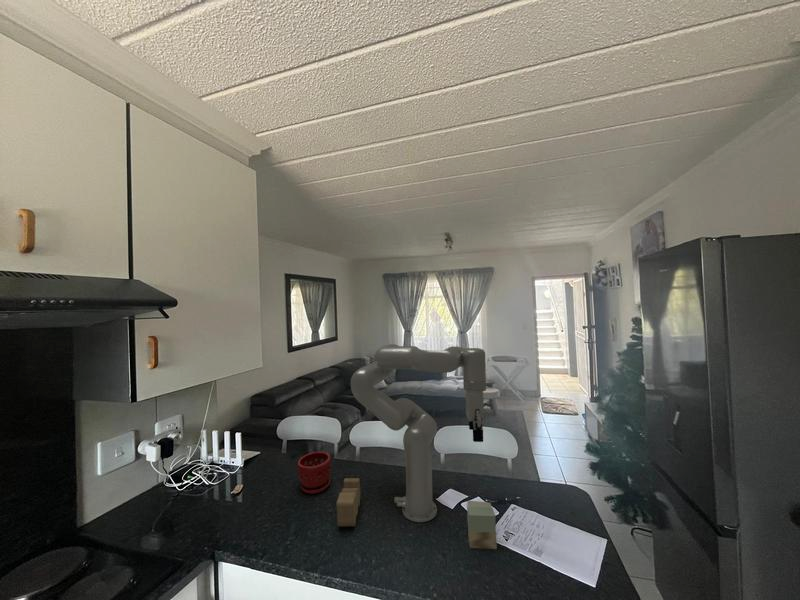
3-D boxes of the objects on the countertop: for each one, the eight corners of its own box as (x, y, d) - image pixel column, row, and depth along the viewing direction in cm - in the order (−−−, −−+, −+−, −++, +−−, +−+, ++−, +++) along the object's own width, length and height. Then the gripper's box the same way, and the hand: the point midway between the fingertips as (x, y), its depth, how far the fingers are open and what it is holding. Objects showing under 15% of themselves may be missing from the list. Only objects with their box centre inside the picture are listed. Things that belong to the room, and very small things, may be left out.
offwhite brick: (468, 522, 106) (467, 507, 106) (467, 514, 110) (467, 500, 110) (492, 524, 105) (491, 510, 105) (490, 516, 108) (490, 502, 109)
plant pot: (317, 475, 137) (316, 448, 138) (337, 485, 130) (337, 456, 130) (291, 490, 127) (291, 460, 127) (312, 501, 119) (311, 470, 119)
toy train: (360, 500, 119) (360, 474, 119) (353, 533, 102) (352, 502, 102) (346, 500, 119) (345, 474, 119) (336, 533, 102) (336, 502, 102)
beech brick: (470, 548, 95) (469, 531, 95) (468, 538, 99) (468, 522, 99) (496, 549, 94) (496, 532, 94) (493, 539, 98) (493, 523, 98)
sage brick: (469, 531, 95) (468, 515, 95) (467, 522, 99) (467, 506, 99) (495, 532, 94) (495, 516, 94) (492, 523, 98) (492, 507, 98)
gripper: (460, 378, 114) (462, 425, 114) (466, 391, 97) (467, 446, 97) (481, 378, 113) (482, 425, 113) (490, 392, 96) (492, 447, 96)
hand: (475, 435), depth 105 cm, fingers open, 9 cm apart
